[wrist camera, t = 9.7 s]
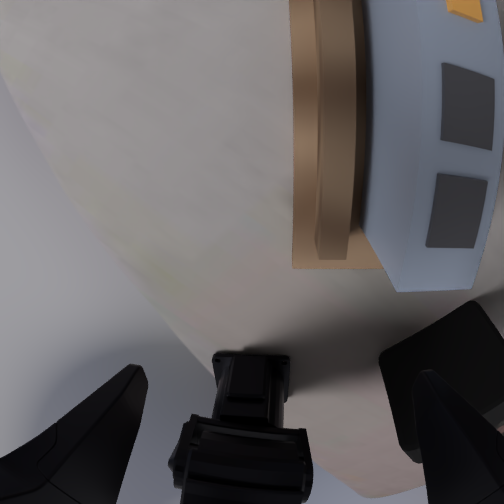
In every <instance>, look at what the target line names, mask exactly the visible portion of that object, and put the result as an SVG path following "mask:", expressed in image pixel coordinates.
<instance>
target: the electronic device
mask: <svg viewBox="0 0 504 504" xmlns="http://www.w3.org/2000/svg"><path fill="white" fill-rule="evenodd" d="M379 366H380V369H381V373H382V377H383V380H384V384H385V388H386V391H387V395H388V399H389V403H390V407H391V411H392V415H393V419H394V423H395V428H396V432H397V437H398V441H399V445H400V447H401V448H402V450H403V451H404V452H405V453H406V454H407V455H408V456H409V457H410V458H411V459H412V461H413V462H416V463H418V464H419V463H422V458H421V452H420V447H419V442H418V437H417V431H416V424H415V414H414V405H413V397H412V387H413V385H414V383H415V381H416V379H417V377H418V375H419V373H420V372H421V371H422V370H429V369H431V370H433V371H435V372H436V373H437V374H438V375H439V376H440V377H441V378H442V379H443V380H445V381H446V382H447V383H448V384H449V385H450V386H451V387H452V388H453V389H454V390H456V391H457V392H458V393H459V394H460V395H461V396H462V397H463V398H464V399H465V400H466V401H467V402H469V403H470V404H471V405H472V406H473V407H474V408H475V409H476V410H477V411H478V412H479V413H480V414H481V415H482V416H483V417H485V418H486V419H487V420H488V421H489V422H490V423H491V424H492V425H493V426H495V425H497V424H498V423H500V422H501V421H503V420H504V339H503V337H502V336H501V334H500V333H499V331H498V330H497V328H496V327H495V326H494V324H493V323H492V321H491V320H490V318H489V317H488V316H487V314H486V313H485V311H484V310H483V309H482V307H481V306H480V305H479V303H477V302H476V301H469V302H467V303H465V304H463V305H462V306H460V307H459V308H457V309H456V310H454V311H452V312H451V313H449V314H448V315H446V316H445V317H443V318H441V319H440V320H438V321H436V322H435V323H433V324H431V325H430V326H428V327H426V328H425V329H423V330H421V331H420V332H418V333H416V334H414V335H413V336H411V337H409V338H407V339H405V340H403V341H402V342H400V343H398V344H396V345H394V346H392V347H390V348H389V349H387V350H385V351H384V352H382V353H381V355H380V357H379Z"/></svg>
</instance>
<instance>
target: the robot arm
mask: <svg viewBox="0 0 504 504" xmlns="http://www.w3.org/2000/svg"><path fill="white" fill-rule="evenodd" d="M283 361H286V362H283ZM212 363H213V369H214V374H215V379H216V385H217V394H216V399H215V404H214V408H213V413H212V418H206V417H200V416H199V415H196V414H192V415H191V417H190V421H189V422H188V421H187V423H184V424H183V428H182V431H181V435H180V438H179V441H178V443H177V445H176V447H175V449H174V451H173V453H172V455H171V457H170V458H169V461H168V467H169V468H170V470H171V471H172V472H173V478H174V487H175V488H178V489H182V494H181V501H180V504H301V503H305V502H306V501H307V500H308V498H309V496H310V493H311V489H312V484H313V464H312V458H311V453H310V447H309V442H308V436H307V431H306V429H304V428H299V429H289V428H283V420H284V403H285V402H287V397H288V386H289V374H290V358H289V357H288V356H273V355H241V354H222V353H215V354H214V355H213V357H212ZM147 390H148V380H147V378H146V375H145V372H144V370H143V368H142V366H140V365H135V364H129V365H127V366H126V367H125V368H123V369H122V370H121V371H120V372H118V373H117V374H116V375H115V376H113V377H112V378H111V379H110V380H109V381H108V382H106V383H105V384H103V385H102V386H101V387H100V388H98V389H97V390H96V391H95V392H93V393H92V394H91V395H90V396H88V397H87V398H86V399H85V400H83V401H82V402H81V403H80V404H78V405H77V406H76V407H74V408H73V409H72V410H71V411H69V412H68V413H67V414H66V415H64V416H63V417H62V418H60V419H59V420H58V421H57V423H54V424H53V425H51V426H50V427H49V428H48V429H46V430H45V431H43V432H42V433H41V434H40V435H38V436H36V437H35V438H33V439H32V440H30V441H29V442H27V443H26V444H24V445H22V446H21V447H19V448H17V449H16V450H14V451H12V452H11V453H9V454H7V455H5V456H3V457H1V458H0V504H116V502H117V499H118V495H119V492H120V488H121V484H122V481H123V478H124V475H125V472H126V468H127V465H128V462H129V458H130V455H131V452H132V449H133V446H134V443H135V440H136V437H137V433H138V430H139V427H140V423H141V419H142V414H143V409H144V404H145V398H146V394H147ZM412 397H413V405H414V414H415V424H416V431H417V437H418V442H419V447H420V452H421V458H422V463H423V469H424V475H425V482H426V489H427V496H428V504H504V435H502V434H501V433H500V432H499V431H497V429H496V428H495V427H494V426H493V425H492V424H491V423H490V422H489V421H488V420H487V419H486V418H485V417H483V416H482V415H481V414H480V413H479V412H478V411H477V410H476V409H475V408H474V407H473V406H472V405H471V404H470V403H469V402H467V401H466V400H465V399H464V398H463V397H462V396H461V395H460V394H459V393H458V392H457V391H456V390H454V389H453V388H452V387H451V386H450V385H449V384H448V383H447V382H446V381H445V380H443V379H442V378H441V377H440V376H439V375H438V374H437V373H436V372H435V371H433V370H431V369H429V370H422V371H421V372H420V373H419V375H418V377H417V379H416V381H415V383H414V385H413V387H412Z"/></svg>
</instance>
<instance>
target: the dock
mask: <svg viewBox="0 0 504 504" xmlns="http://www.w3.org/2000/svg"><path fill="white" fill-rule="evenodd" d="M289 10H290V28H291V50H292V78H293V126H294V195H293V246H292V268H293V269H384V268H383V266H382V264H381V262H380V260H379V259H378V257H377V255H376V253H375V251H374V250H373V248H372V246H371V244H370V243H369V241H368V239H367V238H366V236H365V234H364V233H363V231H362V229H361V228H360V226H359V222H360V212H361V201H362V190H363V177H364V161H365V139H366V59H365V39H364V24H363V12H362V2H361V0H289Z"/></svg>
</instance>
